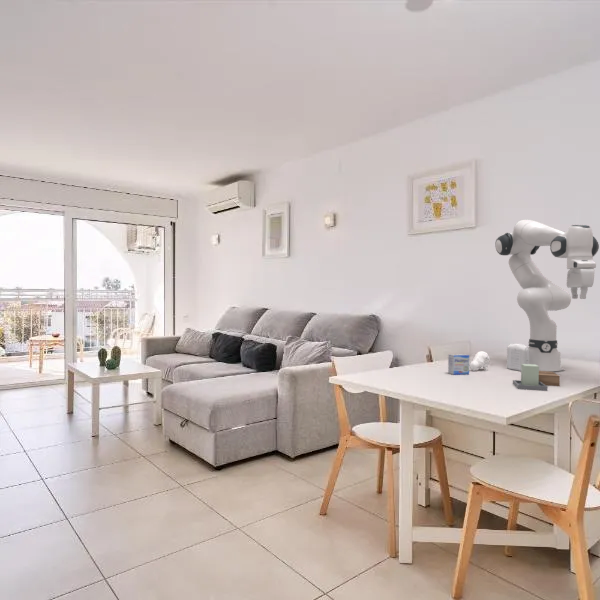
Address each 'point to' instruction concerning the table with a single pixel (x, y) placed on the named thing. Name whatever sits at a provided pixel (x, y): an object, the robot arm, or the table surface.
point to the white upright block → (517, 356)
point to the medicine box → (458, 364)
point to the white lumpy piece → (480, 361)
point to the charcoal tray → (528, 387)
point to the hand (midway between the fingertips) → (578, 298)
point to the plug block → (529, 374)
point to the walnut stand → (549, 378)
